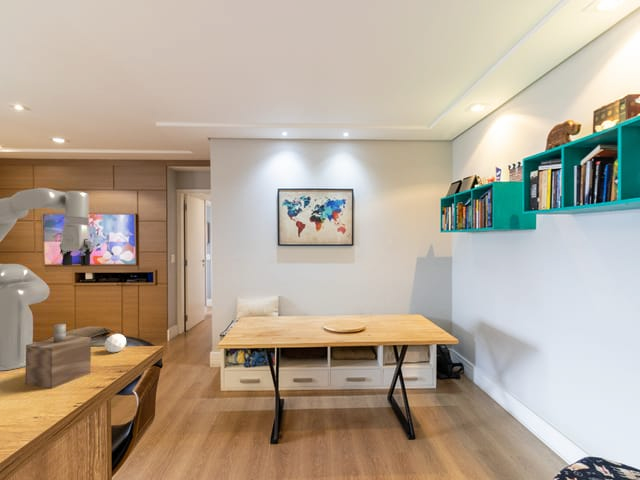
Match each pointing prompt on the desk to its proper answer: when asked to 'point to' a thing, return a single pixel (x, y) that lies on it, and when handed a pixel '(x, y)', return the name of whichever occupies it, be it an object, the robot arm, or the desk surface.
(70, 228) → the robot arm
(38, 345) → the walnut cover
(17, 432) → the desk surface
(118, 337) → the geometric ball
